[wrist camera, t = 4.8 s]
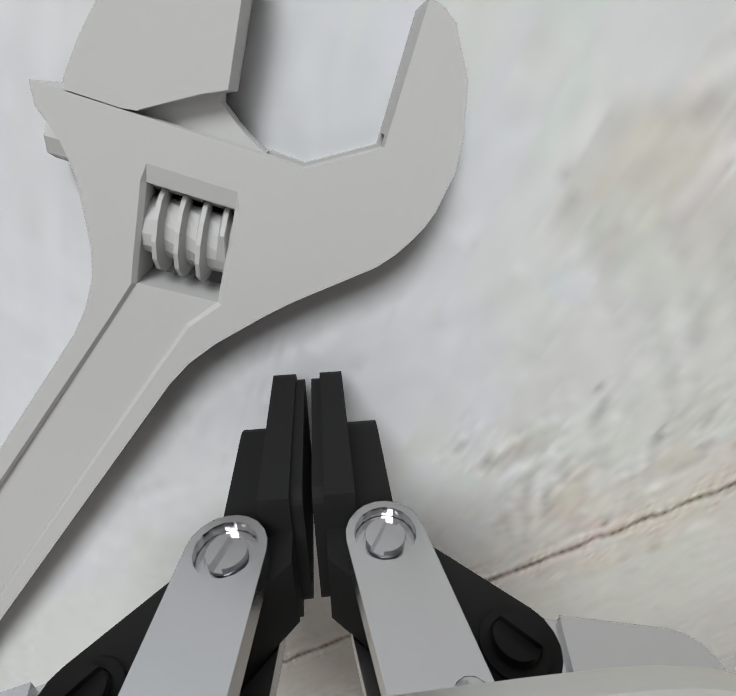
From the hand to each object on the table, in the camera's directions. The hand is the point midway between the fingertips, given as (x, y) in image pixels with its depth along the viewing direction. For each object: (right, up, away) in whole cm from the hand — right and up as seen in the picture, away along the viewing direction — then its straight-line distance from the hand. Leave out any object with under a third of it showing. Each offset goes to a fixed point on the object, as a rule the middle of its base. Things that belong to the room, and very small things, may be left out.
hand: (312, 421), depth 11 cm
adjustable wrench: (-7, 0, +1) cm, 7 cm away
